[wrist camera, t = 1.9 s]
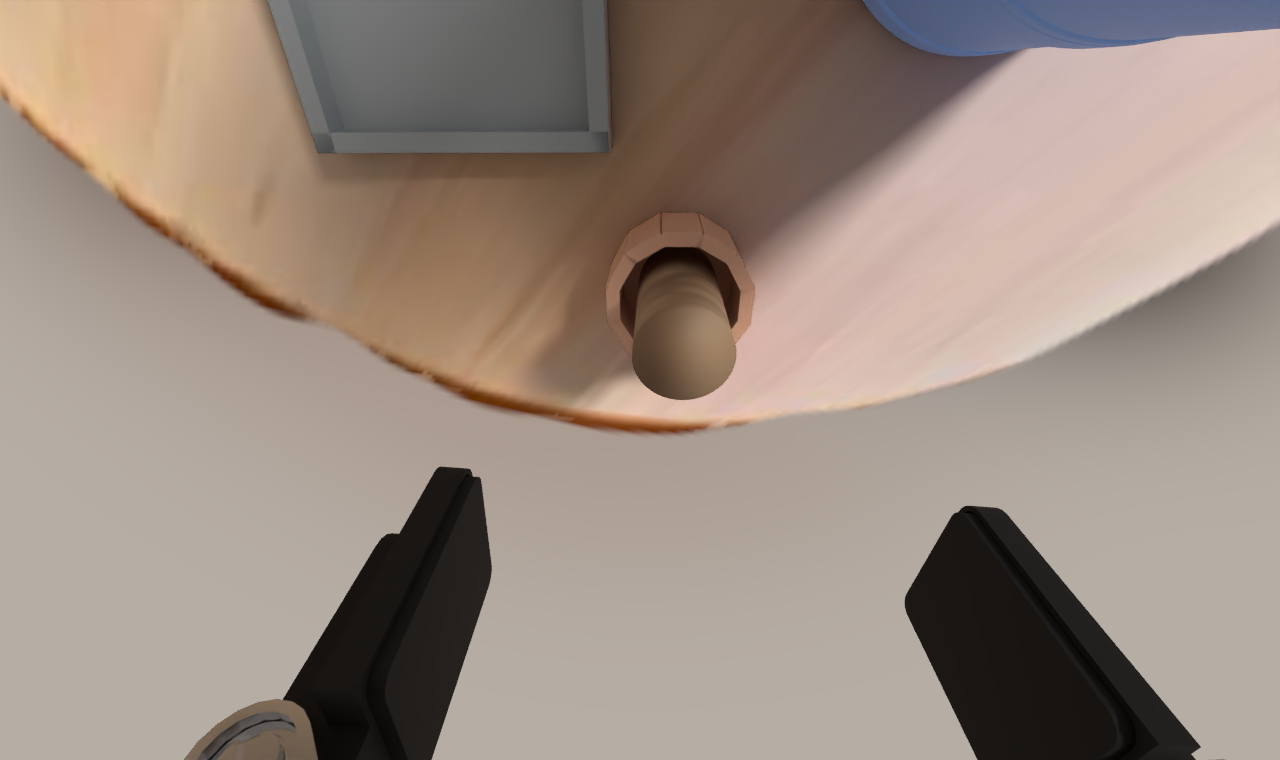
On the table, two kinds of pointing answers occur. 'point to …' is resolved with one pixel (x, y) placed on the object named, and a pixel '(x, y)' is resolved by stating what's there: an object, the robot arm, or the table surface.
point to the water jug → (1062, 22)
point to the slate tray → (451, 74)
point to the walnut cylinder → (681, 326)
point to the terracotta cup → (677, 234)
